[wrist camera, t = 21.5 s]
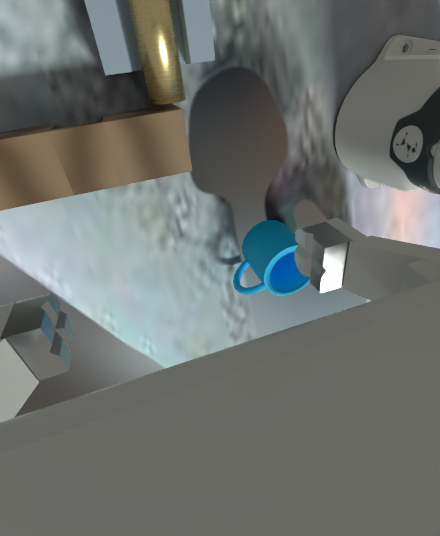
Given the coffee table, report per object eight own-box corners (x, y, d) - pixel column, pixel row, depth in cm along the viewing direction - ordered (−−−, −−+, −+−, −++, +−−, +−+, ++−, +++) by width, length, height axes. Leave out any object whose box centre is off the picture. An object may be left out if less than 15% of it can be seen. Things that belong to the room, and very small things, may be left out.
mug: (276, 209, 44) (304, 233, 38) (297, 244, 49) (326, 271, 43) (212, 258, 46) (229, 290, 39) (239, 288, 51) (258, 320, 44)
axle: (149, -103, 24) (155, -127, 21) (181, 97, 32) (189, 100, 29) (103, -102, 23) (102, -126, 20) (148, 103, 31) (152, 106, 28)
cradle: (191, -62, 27) (201, -78, 24) (205, 61, 32) (215, 60, 29) (69, -55, 25) (64, -71, 22) (105, 75, 30) (105, 75, 27)
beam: (173, 104, 33) (182, 109, 29) (183, 159, 36) (192, 170, 32) (-26, 136, 29) (-47, 147, 25) (6, 194, 33) (-8, 212, 29)
